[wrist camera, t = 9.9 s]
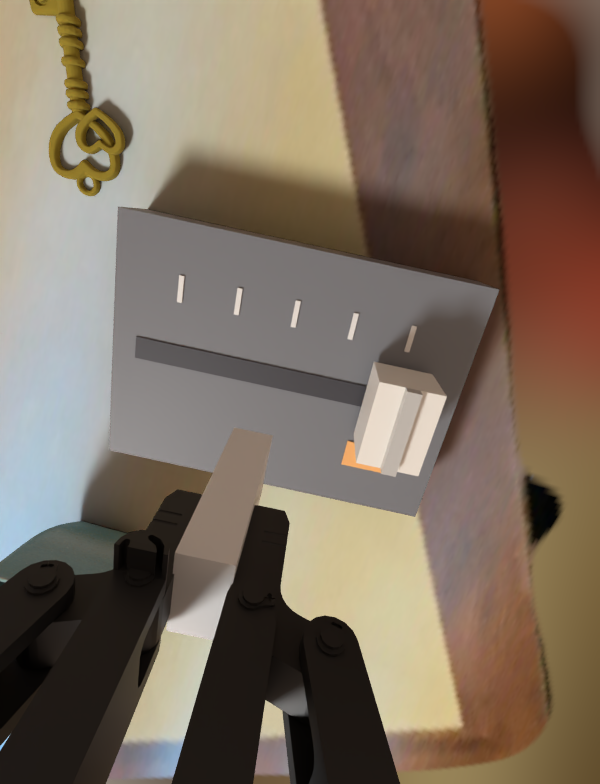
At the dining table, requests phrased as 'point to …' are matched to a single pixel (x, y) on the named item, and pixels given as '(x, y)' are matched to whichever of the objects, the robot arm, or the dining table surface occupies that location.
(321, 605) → the dining table surface
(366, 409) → the slider cap
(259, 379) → the dimmer console
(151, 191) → the dining table surface
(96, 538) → the flower pot
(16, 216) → the dining table surface
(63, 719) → the robot arm
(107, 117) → the key
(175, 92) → the dining table surface
